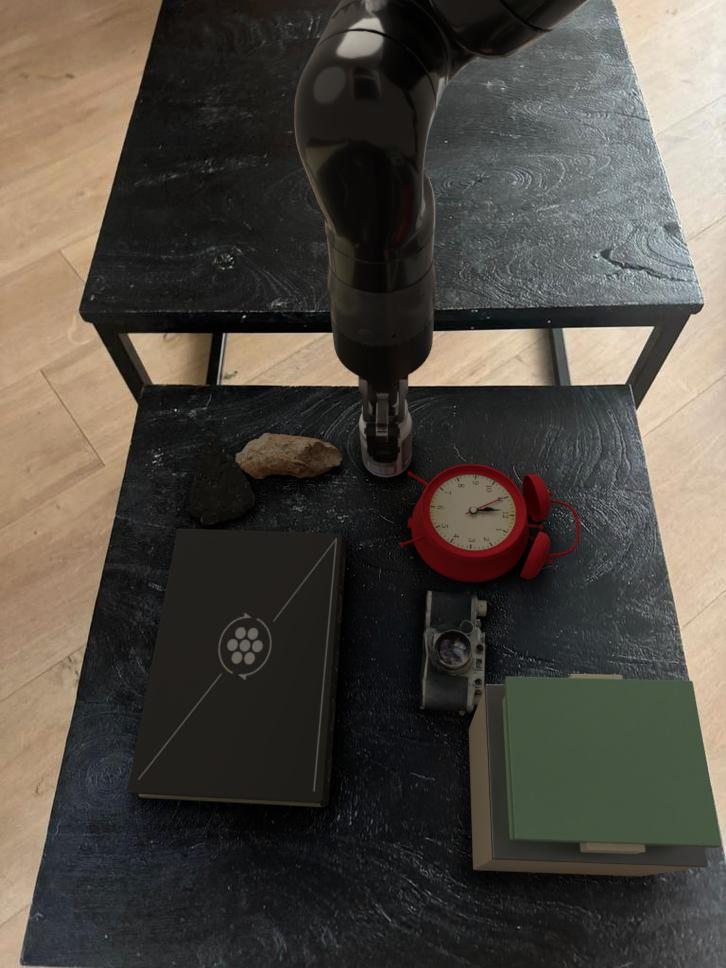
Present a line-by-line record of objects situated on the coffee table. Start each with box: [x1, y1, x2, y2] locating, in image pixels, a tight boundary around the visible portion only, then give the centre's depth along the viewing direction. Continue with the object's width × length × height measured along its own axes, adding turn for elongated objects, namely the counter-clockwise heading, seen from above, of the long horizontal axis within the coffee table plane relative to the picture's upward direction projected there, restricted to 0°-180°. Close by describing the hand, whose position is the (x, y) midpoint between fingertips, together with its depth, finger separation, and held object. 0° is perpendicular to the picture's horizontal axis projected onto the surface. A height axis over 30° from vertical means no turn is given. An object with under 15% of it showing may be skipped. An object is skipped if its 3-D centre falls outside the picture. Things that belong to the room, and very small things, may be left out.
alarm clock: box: [398, 463, 581, 583], centre depth 67 cm, size 10×6×15 cm
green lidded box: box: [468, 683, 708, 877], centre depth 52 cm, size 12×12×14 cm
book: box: [126, 528, 348, 809], centre depth 62 cm, size 22×15×3 cm
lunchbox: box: [502, 673, 722, 854], centre depth 44 cm, size 11×9×4 cm
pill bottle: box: [358, 391, 413, 478], centre depth 69 cm, size 5×5×8 cm
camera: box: [418, 590, 488, 717], centre depth 61 cm, size 5×10×4 cm, turn 173°
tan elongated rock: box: [234, 432, 343, 480], centre depth 72 cm, size 10×4×5 cm
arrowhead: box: [187, 430, 256, 527], centre depth 72 cm, size 6×1×10 cm
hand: (385, 432), depth 69 cm, fingers closed on pill bottle, 4 cm apart
